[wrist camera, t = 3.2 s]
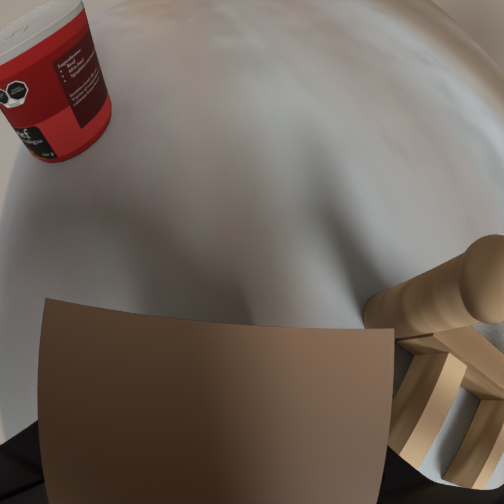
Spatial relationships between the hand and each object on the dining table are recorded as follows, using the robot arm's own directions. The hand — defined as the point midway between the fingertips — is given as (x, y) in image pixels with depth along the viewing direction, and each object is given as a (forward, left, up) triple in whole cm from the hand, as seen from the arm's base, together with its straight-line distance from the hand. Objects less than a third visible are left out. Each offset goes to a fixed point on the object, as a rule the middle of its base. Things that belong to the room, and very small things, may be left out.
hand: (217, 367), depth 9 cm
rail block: (-1, -1, -7) cm, 7 cm away
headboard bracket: (+8, -15, -7) cm, 18 cm away
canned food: (+1, +21, -7) cm, 22 cm away
